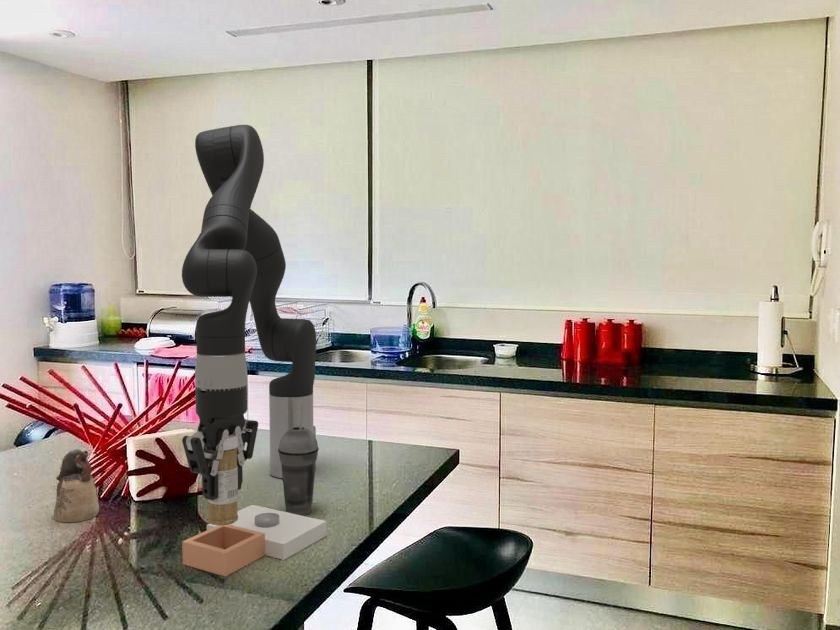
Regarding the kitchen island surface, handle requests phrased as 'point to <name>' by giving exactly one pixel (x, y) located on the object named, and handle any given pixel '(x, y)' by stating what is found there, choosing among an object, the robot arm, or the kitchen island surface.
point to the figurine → (75, 489)
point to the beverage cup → (298, 467)
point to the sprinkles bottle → (226, 486)
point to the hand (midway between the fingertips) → (222, 493)
